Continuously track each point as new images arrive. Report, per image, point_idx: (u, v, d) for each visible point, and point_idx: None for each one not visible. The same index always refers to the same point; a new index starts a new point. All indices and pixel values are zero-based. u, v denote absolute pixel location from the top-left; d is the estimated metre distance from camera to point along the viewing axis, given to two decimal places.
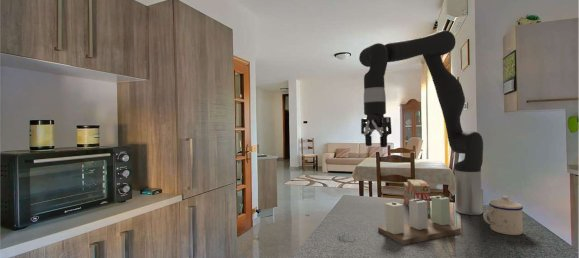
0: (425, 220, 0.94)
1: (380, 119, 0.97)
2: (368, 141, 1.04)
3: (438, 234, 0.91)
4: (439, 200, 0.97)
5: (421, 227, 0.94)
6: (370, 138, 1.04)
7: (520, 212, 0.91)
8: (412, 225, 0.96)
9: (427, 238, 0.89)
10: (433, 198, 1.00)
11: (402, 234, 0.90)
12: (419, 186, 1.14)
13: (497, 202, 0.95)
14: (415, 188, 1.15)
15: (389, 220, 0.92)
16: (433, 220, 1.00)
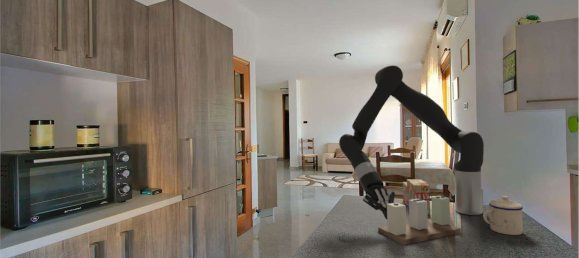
0: (425, 220, 0.94)
1: None
2: None
3: (438, 234, 0.91)
4: (439, 200, 0.97)
5: (421, 227, 0.94)
6: None
7: (520, 212, 0.91)
8: (412, 225, 0.96)
9: (427, 238, 0.89)
10: (433, 198, 1.00)
11: (402, 234, 0.90)
12: (419, 186, 1.15)
13: (497, 202, 0.95)
14: (415, 188, 1.15)
15: (391, 221, 0.91)
16: (433, 220, 1.00)
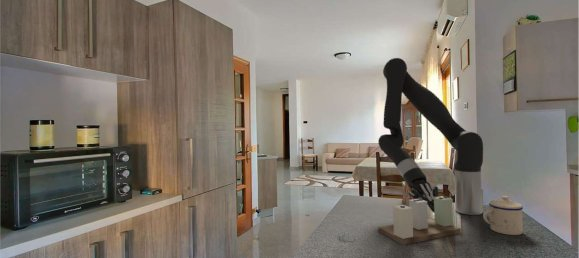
0: (425, 220, 0.94)
1: None
2: None
3: (438, 234, 0.91)
4: (442, 201, 0.96)
5: (421, 227, 0.94)
6: None
7: (520, 212, 0.91)
8: None
9: (427, 238, 0.89)
10: (436, 199, 0.98)
11: None
12: None
13: (497, 202, 0.95)
14: None
15: (397, 224, 0.88)
16: (436, 221, 0.99)
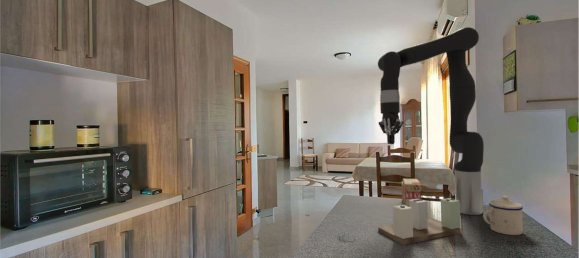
0: (425, 220, 0.94)
1: (395, 122, 1.11)
2: None
3: (438, 234, 0.91)
4: (449, 203, 0.93)
5: (421, 227, 0.94)
6: None
7: (520, 212, 0.91)
8: None
9: (427, 238, 0.89)
10: (443, 201, 0.96)
11: None
12: (410, 185, 1.17)
13: (497, 202, 0.95)
14: (406, 187, 1.18)
15: (397, 224, 0.88)
16: (443, 224, 0.96)
